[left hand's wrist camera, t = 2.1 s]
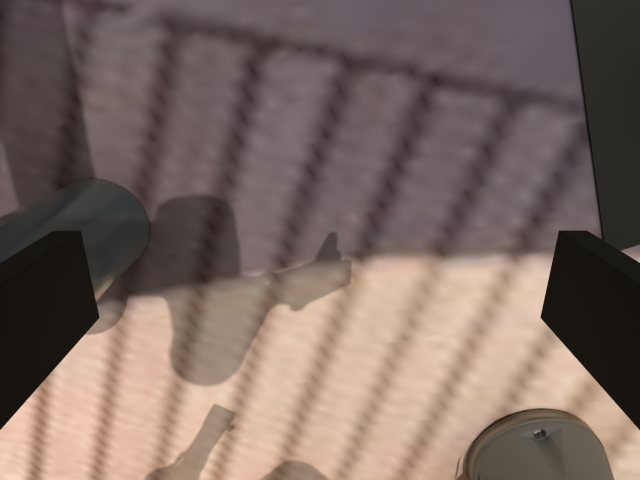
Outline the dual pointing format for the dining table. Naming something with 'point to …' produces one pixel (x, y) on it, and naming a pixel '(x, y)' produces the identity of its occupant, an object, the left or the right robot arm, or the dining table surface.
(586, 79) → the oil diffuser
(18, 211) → the jar
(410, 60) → the dining table surface
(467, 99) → the dining table surface
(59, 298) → the left robot arm
